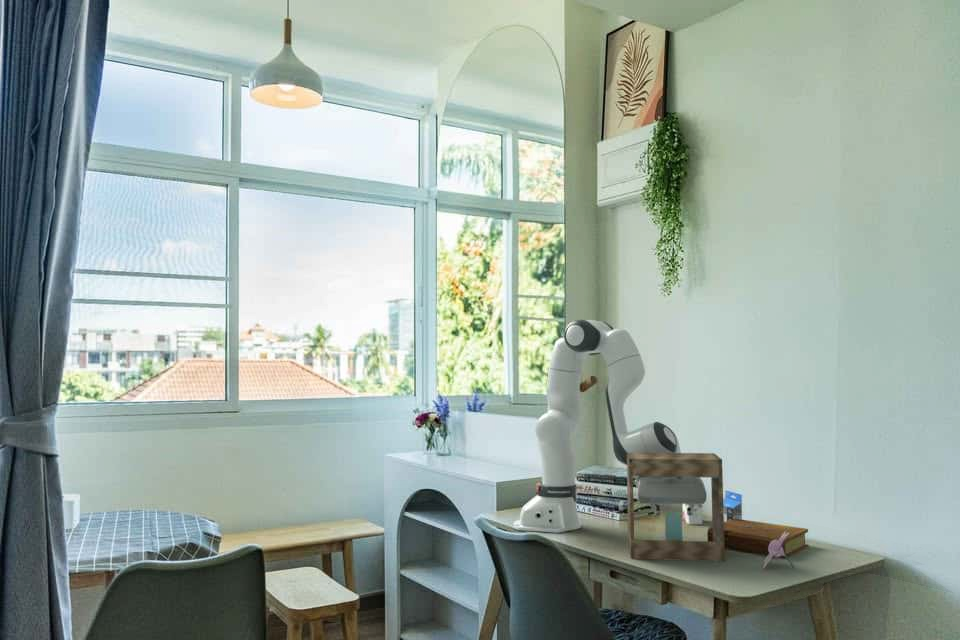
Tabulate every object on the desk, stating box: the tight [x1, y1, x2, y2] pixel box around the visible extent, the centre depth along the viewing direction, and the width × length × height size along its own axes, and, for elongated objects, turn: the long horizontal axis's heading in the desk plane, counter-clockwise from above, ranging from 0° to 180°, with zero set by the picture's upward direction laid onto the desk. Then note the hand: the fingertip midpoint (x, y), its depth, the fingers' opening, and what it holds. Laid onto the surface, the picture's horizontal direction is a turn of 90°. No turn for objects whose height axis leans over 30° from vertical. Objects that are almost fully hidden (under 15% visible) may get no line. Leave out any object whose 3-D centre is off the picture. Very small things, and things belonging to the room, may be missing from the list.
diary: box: [706, 519, 809, 559], centre depth 228 cm, size 23×19×6 cm
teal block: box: [664, 512, 683, 541], centre depth 222 cm, size 4×4×11 cm
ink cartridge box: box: [682, 504, 703, 525], centre depth 262 cm, size 9×5×15 cm, turn 179°
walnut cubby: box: [626, 452, 726, 562], centre depth 221 cm, size 26×14×28 cm, turn 82°
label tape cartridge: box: [723, 490, 743, 522], centre depth 249 cm, size 9×4×12 cm, turn 18°
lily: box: [762, 531, 795, 570], centre depth 206 cm, size 12×12×10 cm
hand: (673, 514), depth 225 cm, fingers open, 8 cm apart
